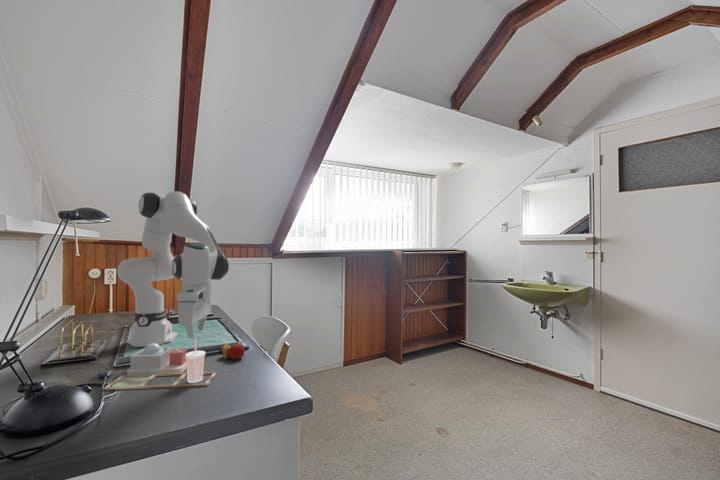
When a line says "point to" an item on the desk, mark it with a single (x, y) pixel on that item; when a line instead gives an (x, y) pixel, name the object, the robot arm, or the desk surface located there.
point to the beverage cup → (195, 365)
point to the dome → (152, 349)
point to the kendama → (232, 351)
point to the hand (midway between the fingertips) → (196, 333)
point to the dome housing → (158, 362)
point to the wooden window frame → (142, 379)
